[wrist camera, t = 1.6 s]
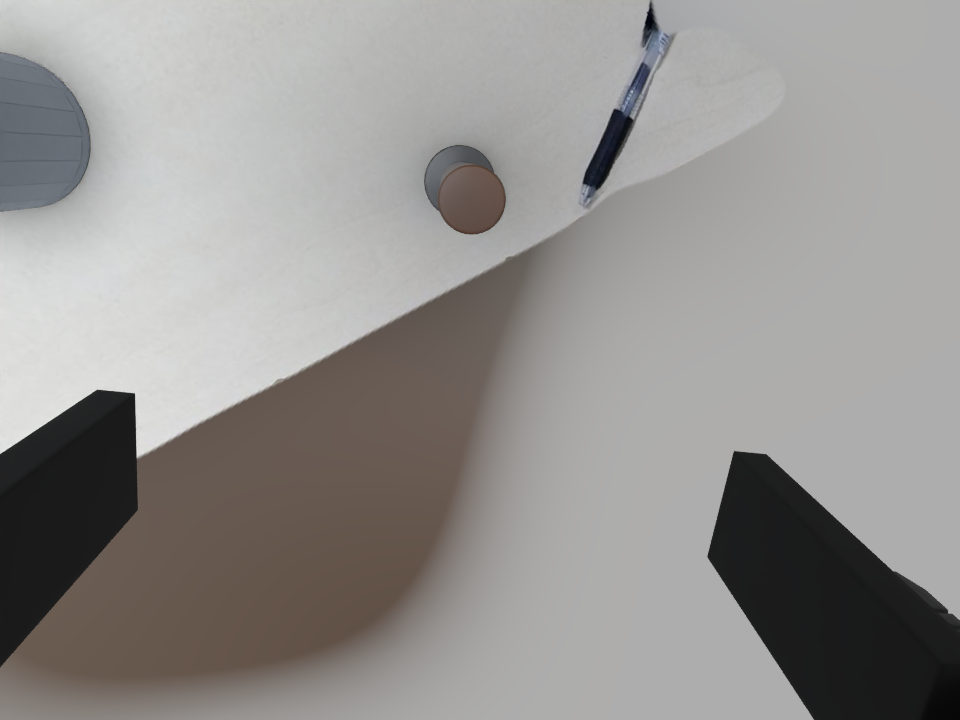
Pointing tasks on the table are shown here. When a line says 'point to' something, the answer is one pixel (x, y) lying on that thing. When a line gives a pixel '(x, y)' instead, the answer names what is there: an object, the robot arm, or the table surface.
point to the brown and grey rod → (465, 189)
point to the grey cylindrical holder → (38, 136)
